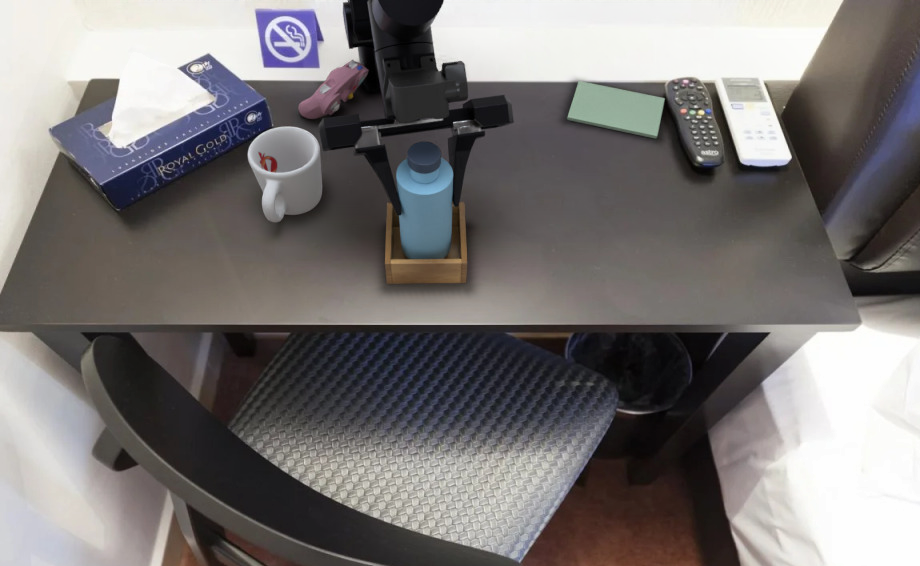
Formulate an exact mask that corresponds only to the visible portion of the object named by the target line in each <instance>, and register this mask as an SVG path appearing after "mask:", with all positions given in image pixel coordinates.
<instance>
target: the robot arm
mask: <svg viewBox="0 0 920 566" xmlns="http://www.w3.org/2000/svg"><path fill="white" fill-rule="evenodd" d="M444 1H445V0H347V1H343V2H342V18H343V24H344V31H345V37H346V41H347V45H348V49H349V50H352V49H356V48H357V51H358V52H357V53H358V61H359V62H358V63H360V64H362V65H363V66H364V67H365V68H367V69H368V70H369V71H368V74H367V76H366V78H365V79H364V80H363V82H362V83H361V84H362V86H363V87H364V89H365V91H367V93H369V94H371V95H372V94H375V93H379V92H380V94H381V100H382V101H381V102H382V109H383V114H384V118H383V117H382V118H375V119H367V120H361V118H360V114H359V113H354V114H346V115H338V116H330V117H324V118H322V119H321V121H320V122H319V124H318V130H319V137H320V143H321V148H322V151H323V152H327V151H328V152H329V151H336V150H341V149H342V150H343V149H351V148H354V149H353V156H355V157H357V156H363V157H364V158H365V160H366V161H367V162H368V164H369V165H370V167H371V169H372V170H373V171H374V173H375V175H376V176H377V178H378V179H379V181H380V184H381V185H382V187H383V190H384V193H386V196H387V198H388V201H389V203H391V204H392V206H393V208H394V210H395V212H396V214H397V215H398V216H399V215H401V208H400V201H399V197H398V193H397V185H396V183H395V179H394V176H393V172H392V168H391V165H390V161H389V156H388V152H387V147H386V144H385V143H384V144H381V142H382V139H383V138H388V137H394V136H403V135H410V134H418V133H424V132H425V133H426V132H433V131H439V130H446V129H450V132H451V136H450V137H448V138H447V151H448V163H449V164H450V166H451V167H452V170H453V199H452V202H453V206H454V207H458V206H459V202H461V196H462V190H463V184H464V179H465V173H466V168H467V165H468V160H469V158H470V154H471V152H472V149H473V147H474V145H475V142H476V140H477V139H481V138H485V136H486V130H490V129H496V128H502V127H505V126H508V125H512V124H514V123H515V121H514V114H513V113H514V112H513V111H514V110H513V105H512V102H511V100H510V99H509V98H508V97H507V96H506V95H505V94H500V95H493V96H484V97H476V98H470V99H468V98H469V87H468V86H469V85H468V77H467V70H466V65H465V63H464V61H462V60H457V61H449V62H443V63H442V64H441V70H439V68H438V66H437V59H436V54H435V53H436V52H435V47H434V39H433V31H432V24H433V23H434V21H435V19H436V17H437V16H438V14H439V13H440V11H441V8H442V7H443V4H444ZM465 101H466V102H465ZM456 102H457V103H459V102H463V103H462V107H460V108H459V107H458V108H452V109H450V105H449V104H451V103H456ZM395 122H396V123H395Z"/></svg>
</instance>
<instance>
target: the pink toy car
mask: <svg viewBox="0 0 920 566" xmlns="http://www.w3.org/2000/svg"><path fill="white" fill-rule="evenodd" d="M368 71H369V70H368V69H367V68H365V67H364V66H363V65H362V64H360V62H358V61H355V60H354V59H351V60H350V61H348V62H346V63H344V65H341V66H338V67H336V68H335V69H333V70H331V71H330V72H329V74H328V75H327V77H326V80H325V81H324V82H322V83H321V84H320V85H319V87H318V88H317V89H316V90H315V91H314V93H313V94H312V95H311V96H310V97H309V98H306V99H304V100H302V101H300V103H298V112H299V113H300V115H301V117H303V118H305V119H308V120H316V119H319V118H321V117H323V116H326V115H329V116H331V115H333V114H334V113H335V112H337V111H338V110H339V109H340V105H341V102H344V103H346V102H347V101H348V100H351V99H353V98H354V94H355V92H356V90H357V89H358V88H359V87H360V86H361V84H362V82H363V80H364V79H365V78H366V76H367V74H368ZM341 100H342V101H341Z"/></svg>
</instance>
